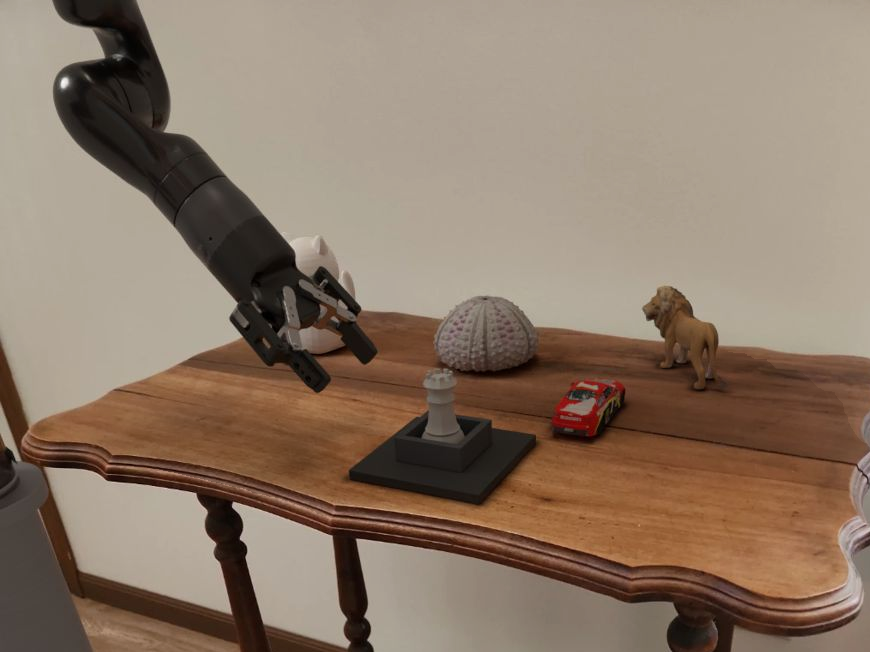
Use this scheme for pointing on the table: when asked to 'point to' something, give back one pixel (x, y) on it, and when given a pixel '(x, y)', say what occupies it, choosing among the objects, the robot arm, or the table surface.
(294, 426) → the table surface
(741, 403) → the table surface
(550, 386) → the table surface
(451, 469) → the socket pad
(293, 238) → the cat figurine
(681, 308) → the lion figurine
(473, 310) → the sea urchin shell
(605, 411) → the race car
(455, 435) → the rook chess piece
